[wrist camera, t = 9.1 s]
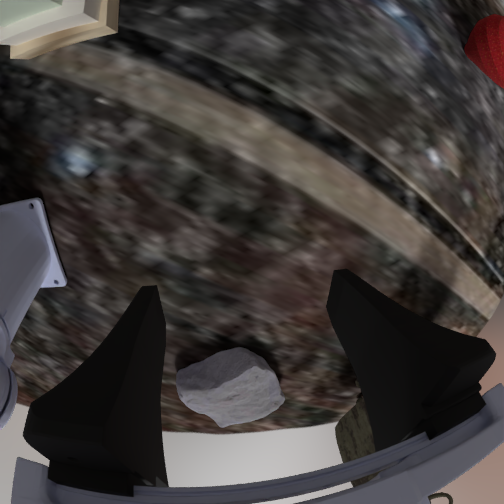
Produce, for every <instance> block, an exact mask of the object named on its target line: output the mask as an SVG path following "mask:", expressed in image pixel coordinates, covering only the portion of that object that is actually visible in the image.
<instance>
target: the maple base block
mask: <svg viewBox="0 0 504 504" xmlns="http://www.w3.org/2000/svg"><path fill="white" fill-rule="evenodd" d="M118 12H119V0H101V6H100V14H99V22H94V23H89V24H85V25H81V26H77V27H73V28H69V29H65V30H62V31H58V32H55V33H51V34H48V35H45V36H42V37H39V38H36V39H33V40H30V41H28V42H25V43H22V44H20V45H17V46H14V45H11V49H10V59H31V58H33V57H36V56H39V55H41V54H44V53H47V52H50V51H52V50H55V49H58V48H61V47H64V46H68V45H71V44H74V43H78V42H81V41H85V40H88V39H92V38H96V37H100V36H105V35H109V34H114V33H118Z"/></svg>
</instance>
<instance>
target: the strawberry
mask: <svg viewBox="0 0 504 504" xmlns="http://www.w3.org/2000/svg"><path fill="white" fill-rule="evenodd" d="M464 50H465V54H466V55H467V57H468V58H469V59H470V60H471V61H473V62H474V63H475V64H476V65H477V66H478V67H479V68H480V70H481V71H483V72H484V73H485V74H486V75H487V76H488V77H489V78H491V79H492V80H493V81H494V82H495V83H496V84H497V85H499V86H500V87H502V88H504V16H500V15H496V14H493V15H490V16H487V17H485V18H483V19H481V20H479V21H478V22H477V23H476V25H475V27H474V28H473V30H472V32H471V33H470V35H469V38H468V41H467V44H466V45H465V47H464Z"/></svg>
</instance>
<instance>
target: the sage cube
mask: <svg viewBox="0 0 504 504" xmlns="http://www.w3.org/2000/svg"><path fill="white" fill-rule="evenodd" d="M62 2H63V0H0V26H2V27H5V26H7V25H9V24H12V23H14V22H16V21H19V20H21V19H24V18H27V17H29V16H32V15H35V14H37V13H40V12H43V11H46V10H49V9H52V8H56V7H59V6H62Z"/></svg>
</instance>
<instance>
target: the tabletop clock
mask: <svg viewBox="0 0 504 504" xmlns="http://www.w3.org/2000/svg"><path fill="white" fill-rule="evenodd" d="M355 384H356V386H357V387H359V388H360V385H359V382H358V379H356V381H355ZM335 431H336V439H337V444H338V447H339V451H340V454H341V457H342V461H343V463H346V462H349V461H352V460H355V459H358V458H361V457H364V456H367V455H370V454H373V453H375V446H374V440H373V435H372V429H371V425H370V421H369V416H368V412H367V408H366V405H365V401H364V398H362V397H361V398H359V399H358V400H357V401H356V405H355V406H354V407H353V408H352V409H351V410H350V411H348V412H347V413H346V414H345V415H344V416H343V417H342V418H341V419H340V421H339V422H338V424H337V425H336V427H335ZM390 467H391V466H390ZM388 468H389V467H388ZM386 469H387V468H386ZM383 470H385V469H383ZM383 470H381V471H383ZM381 471H378V472H375V473H373V474H370V475H367V476H365V477H362V478H359V479H356V480H353V481H351V483H352V485H353V487H356V486H359V485H362V484H365V483H367V482H368V481H370V480H372V479H373V478H374V477H376V476H377V475H378V473H379V472H381ZM438 497H447V498H448V499H449V504H453V499H452V497H451V496H450V495H449V494H447V493H443V492H441V493H435V494H432V495H429V496H428V499H429V501H430V500H431V499H433V498H438ZM430 504H431V501H430Z"/></svg>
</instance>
